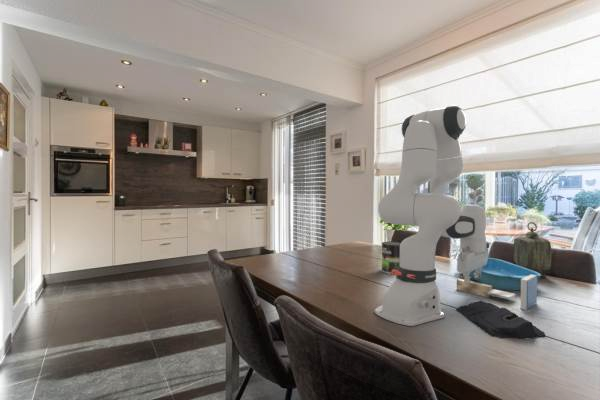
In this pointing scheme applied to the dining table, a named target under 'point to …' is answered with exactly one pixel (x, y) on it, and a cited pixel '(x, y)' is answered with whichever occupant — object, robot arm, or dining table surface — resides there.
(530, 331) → the black folded cloth
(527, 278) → the tile
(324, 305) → the dining table surface
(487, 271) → the casserole dish
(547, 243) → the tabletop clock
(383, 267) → the coffee can
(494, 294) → the turner
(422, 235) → the robot arm
